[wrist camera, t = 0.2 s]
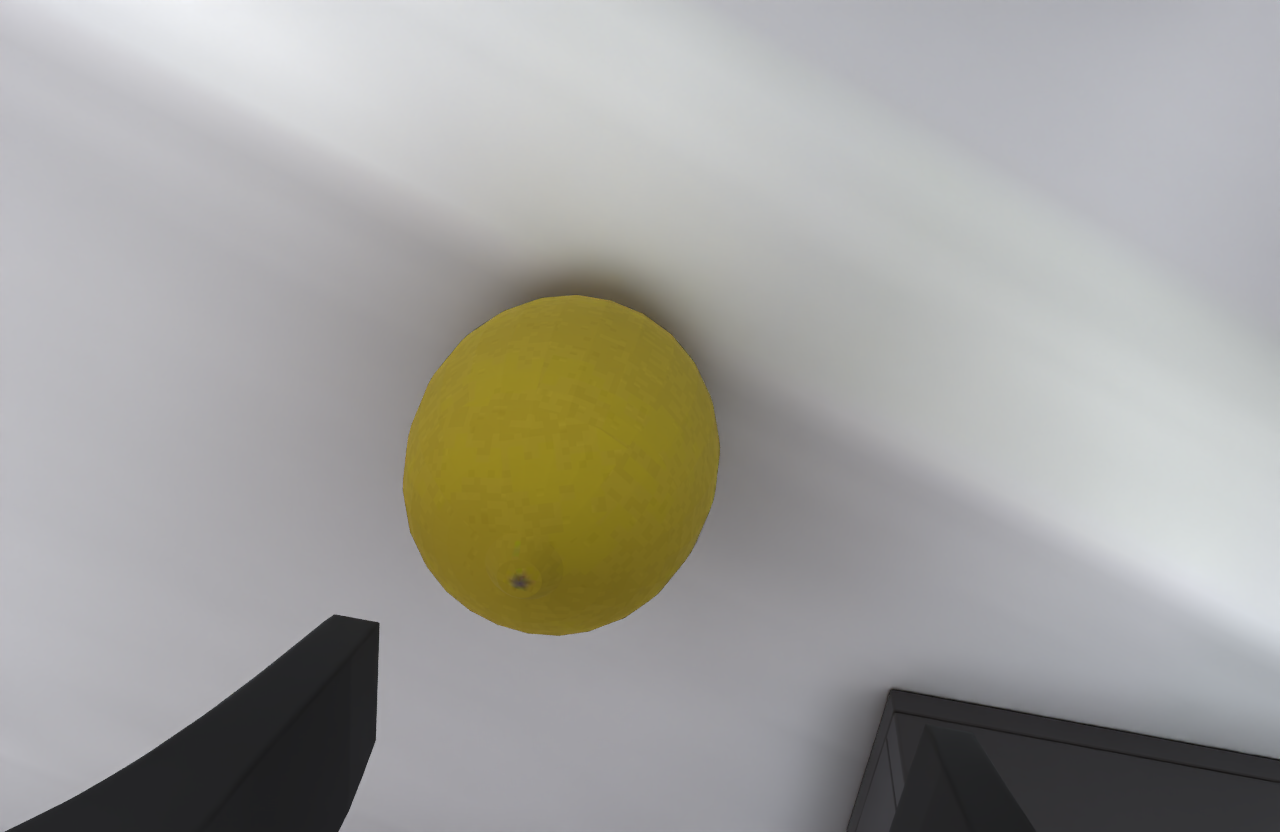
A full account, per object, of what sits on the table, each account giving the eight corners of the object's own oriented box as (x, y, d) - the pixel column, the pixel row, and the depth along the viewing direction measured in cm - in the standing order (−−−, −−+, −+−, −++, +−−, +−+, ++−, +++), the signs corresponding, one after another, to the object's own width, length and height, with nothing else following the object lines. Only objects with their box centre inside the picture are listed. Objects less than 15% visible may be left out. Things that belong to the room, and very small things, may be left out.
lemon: (490, 481, 24) (370, 721, 17) (458, 248, 22) (304, 412, 15) (730, 482, 23) (712, 733, 16) (725, 241, 21) (700, 411, 14)
